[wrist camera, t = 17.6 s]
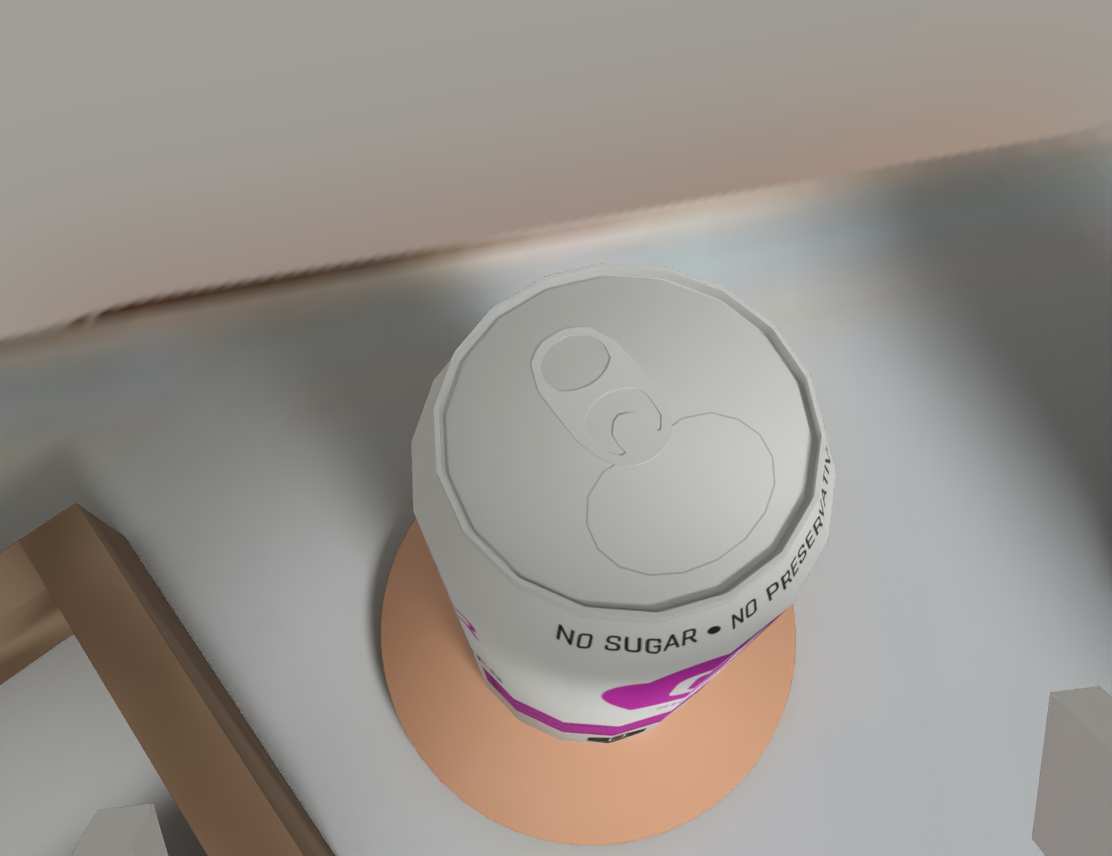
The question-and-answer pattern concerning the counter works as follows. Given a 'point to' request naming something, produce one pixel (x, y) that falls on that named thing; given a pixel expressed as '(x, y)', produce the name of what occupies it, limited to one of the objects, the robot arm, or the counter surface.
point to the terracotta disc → (567, 766)
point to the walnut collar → (150, 682)
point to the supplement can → (619, 492)
